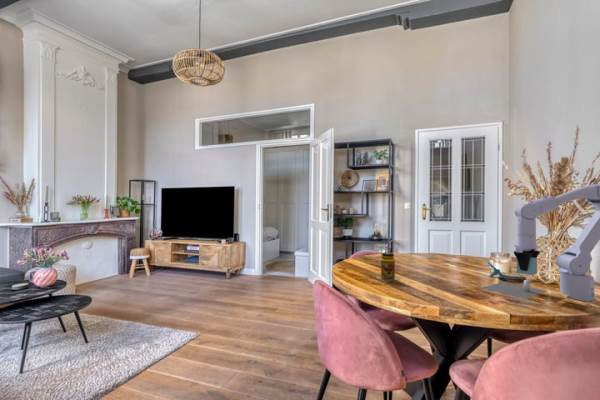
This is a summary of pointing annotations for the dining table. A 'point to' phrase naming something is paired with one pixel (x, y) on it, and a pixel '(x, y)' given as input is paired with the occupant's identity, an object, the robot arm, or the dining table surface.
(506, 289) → the post board
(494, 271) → the teal bent piece
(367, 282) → the dining table surface
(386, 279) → the condiment
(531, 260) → the teal block
